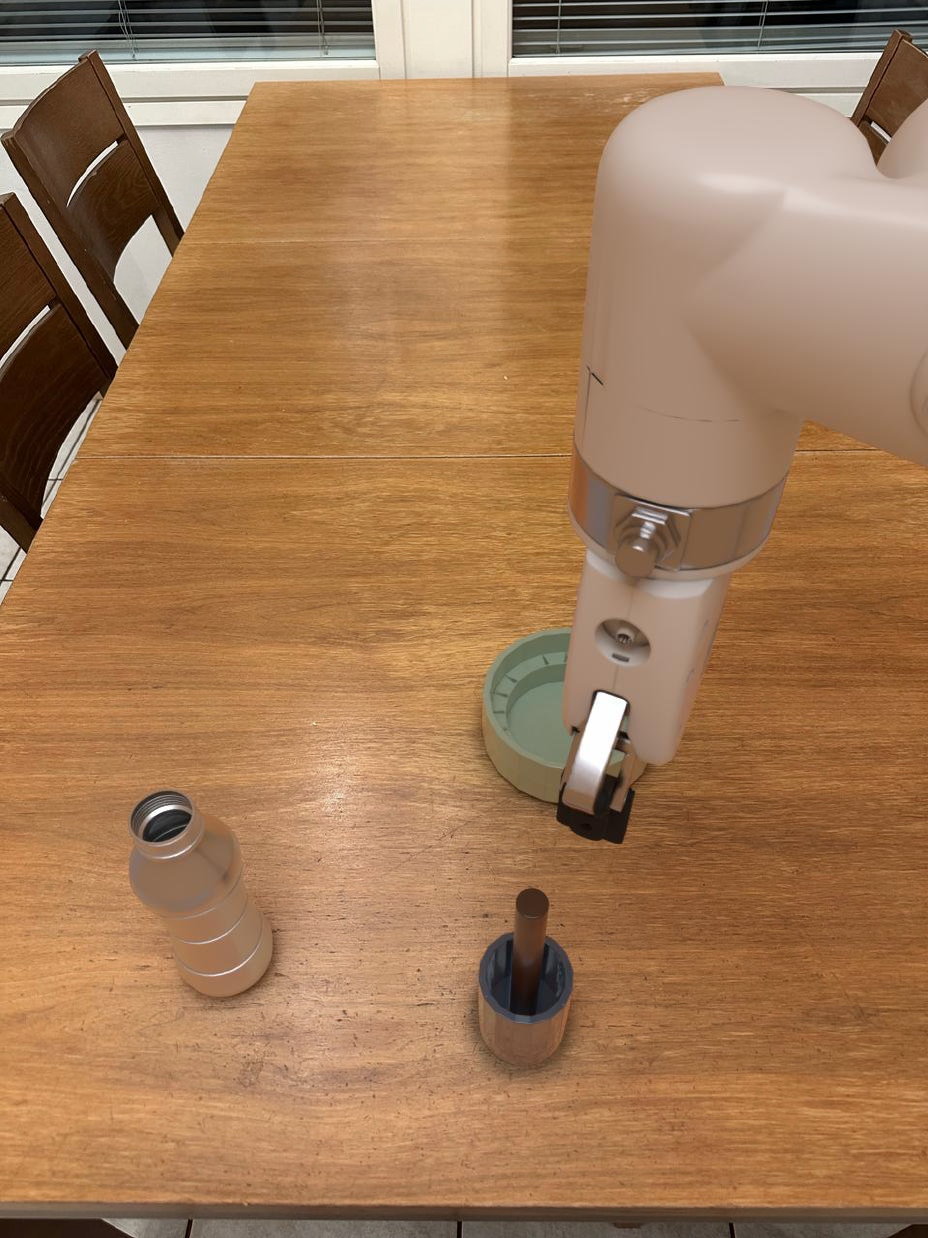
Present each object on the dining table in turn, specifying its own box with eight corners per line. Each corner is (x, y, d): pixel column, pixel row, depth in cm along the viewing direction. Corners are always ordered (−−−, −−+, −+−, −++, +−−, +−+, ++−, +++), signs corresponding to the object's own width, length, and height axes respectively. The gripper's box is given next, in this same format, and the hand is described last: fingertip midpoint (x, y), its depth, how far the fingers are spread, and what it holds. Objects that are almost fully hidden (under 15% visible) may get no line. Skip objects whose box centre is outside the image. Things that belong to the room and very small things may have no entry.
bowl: (676, 705, 82) (686, 665, 78) (613, 836, 73) (620, 798, 69) (528, 647, 86) (530, 606, 82) (453, 763, 78) (451, 724, 74)
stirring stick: (540, 1004, 63) (554, 896, 51) (529, 1029, 62) (540, 924, 50) (516, 992, 63) (524, 882, 52) (504, 1016, 62) (510, 909, 50)
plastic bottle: (189, 921, 69) (109, 770, 54) (282, 914, 69) (228, 763, 55) (177, 1010, 65) (87, 873, 50) (276, 1003, 65) (216, 865, 50)
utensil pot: (578, 1003, 65) (588, 956, 59) (542, 1083, 61) (548, 1041, 56) (503, 963, 67) (505, 914, 61) (464, 1039, 63) (462, 994, 57)
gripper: (721, 686, 28) (645, 932, 41) (820, 375, 38) (735, 648, 51) (485, 613, 30) (484, 869, 43) (641, 337, 40) (602, 608, 53)
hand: (621, 748), depth 47 cm, fingers open, 9 cm apart
